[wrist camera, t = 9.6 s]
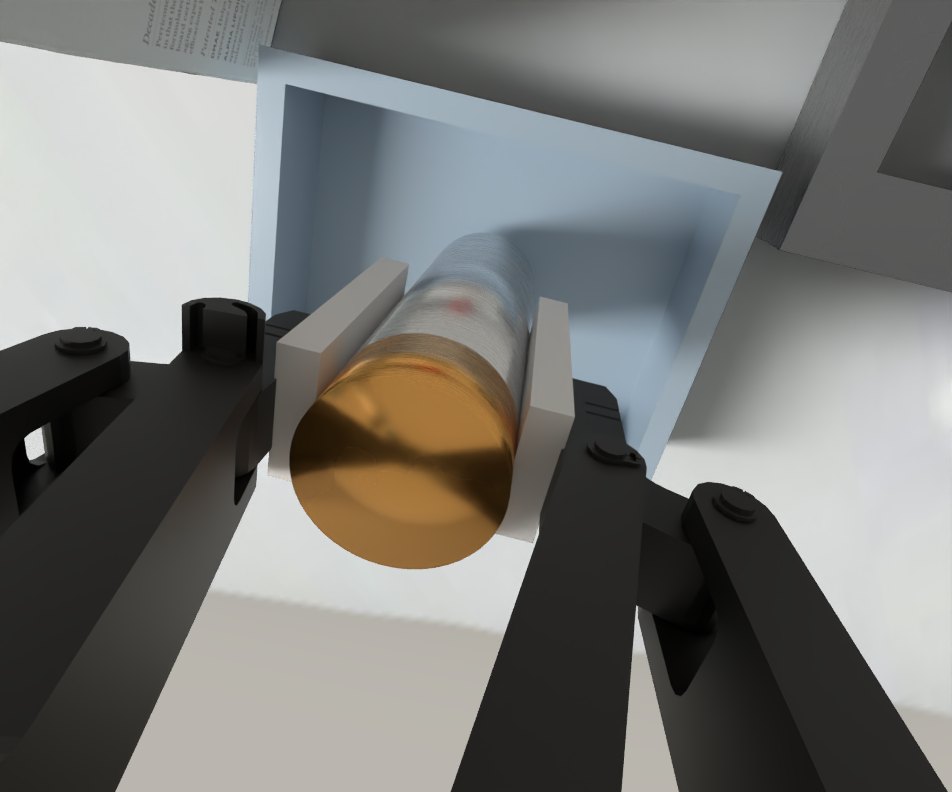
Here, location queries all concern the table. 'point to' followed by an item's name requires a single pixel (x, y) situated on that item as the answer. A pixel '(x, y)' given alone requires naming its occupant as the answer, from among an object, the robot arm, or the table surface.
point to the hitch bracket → (865, 151)
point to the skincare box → (149, 32)
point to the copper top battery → (425, 415)
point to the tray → (503, 217)
